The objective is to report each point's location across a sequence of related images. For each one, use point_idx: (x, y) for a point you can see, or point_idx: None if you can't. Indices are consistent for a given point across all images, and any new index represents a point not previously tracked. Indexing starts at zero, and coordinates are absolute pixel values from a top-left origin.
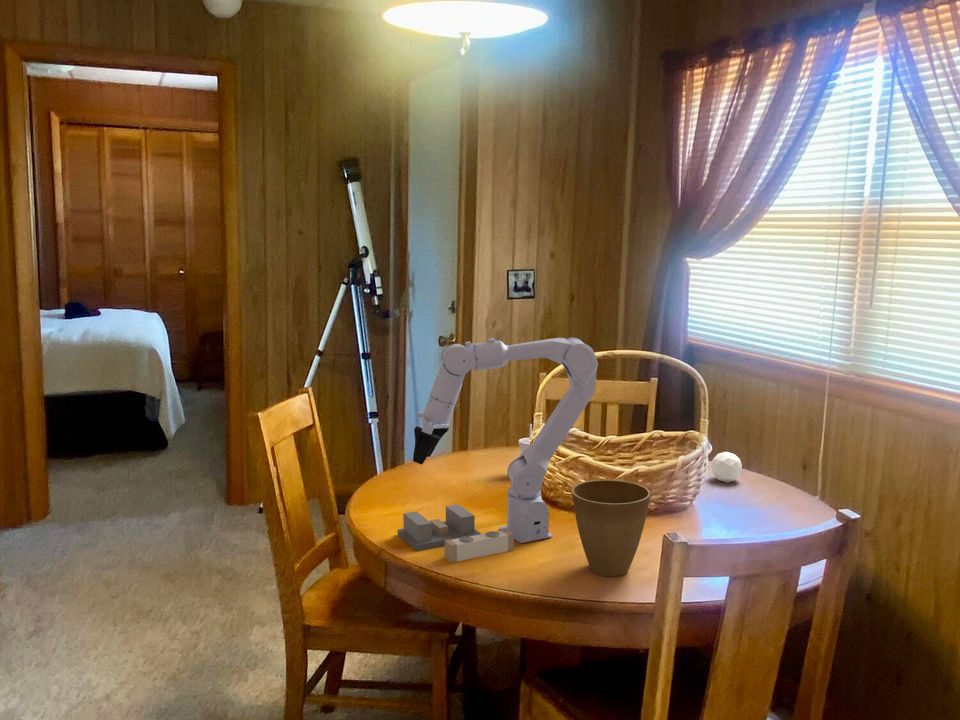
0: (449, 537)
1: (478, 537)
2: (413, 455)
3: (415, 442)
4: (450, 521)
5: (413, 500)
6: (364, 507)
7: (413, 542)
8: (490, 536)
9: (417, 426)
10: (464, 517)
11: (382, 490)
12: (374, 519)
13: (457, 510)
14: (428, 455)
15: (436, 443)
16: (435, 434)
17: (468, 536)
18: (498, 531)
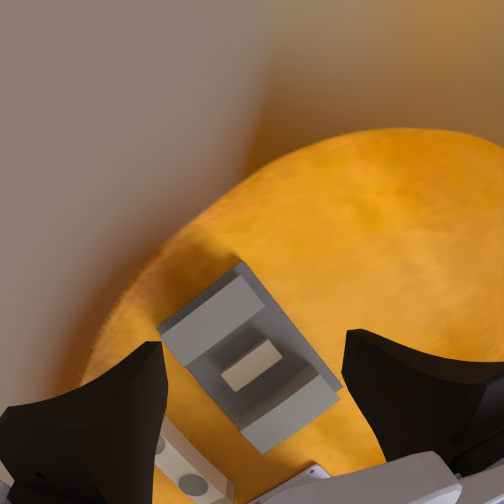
0: (217, 392)
1: (171, 462)
2: (134, 350)
3: (78, 390)
4: (290, 383)
5: (448, 239)
6: (385, 147)
7: (170, 319)
8: (178, 483)
9: (75, 454)
10: (244, 436)
11: (471, 165)
12: (326, 183)
13: (292, 410)
14: (344, 372)
15: (377, 432)
16: (404, 449)
17: (169, 445)
18: (216, 493)
